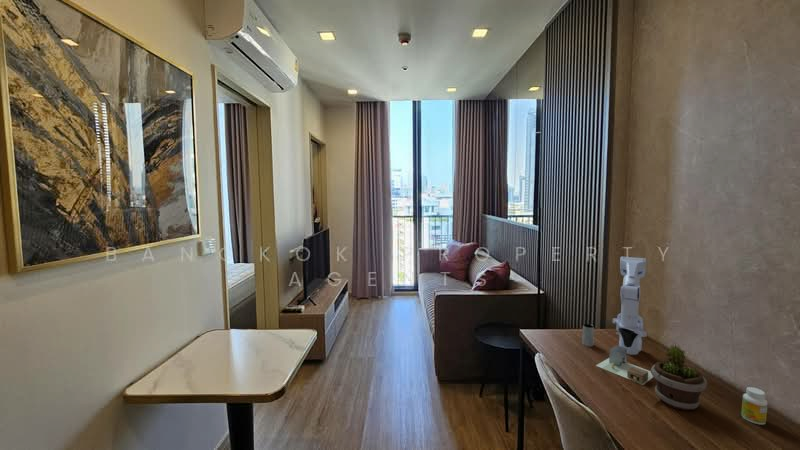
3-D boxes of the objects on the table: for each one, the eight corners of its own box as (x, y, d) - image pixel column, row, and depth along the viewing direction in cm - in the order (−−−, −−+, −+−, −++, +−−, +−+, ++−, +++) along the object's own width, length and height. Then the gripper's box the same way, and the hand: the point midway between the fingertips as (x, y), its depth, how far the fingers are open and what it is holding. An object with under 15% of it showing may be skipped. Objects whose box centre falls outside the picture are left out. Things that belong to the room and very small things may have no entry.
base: (610, 359, 144) (611, 352, 144) (657, 376, 130) (657, 369, 129) (595, 368, 137) (595, 361, 136) (642, 388, 123) (643, 379, 122)
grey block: (615, 358, 142) (616, 345, 142) (626, 362, 139) (626, 348, 138) (609, 362, 139) (609, 349, 138) (619, 366, 135) (620, 352, 135)
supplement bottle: (736, 414, 107) (738, 386, 106) (751, 413, 108) (753, 385, 107) (755, 425, 102) (757, 396, 101) (771, 424, 102) (773, 395, 102)
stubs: (636, 376, 128) (636, 373, 128) (640, 378, 127) (641, 374, 126) (632, 380, 126) (632, 376, 126) (636, 381, 125) (636, 377, 124)
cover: (633, 373, 130) (633, 366, 130) (647, 379, 126) (648, 371, 126) (627, 377, 127) (627, 370, 127) (642, 383, 123) (642, 375, 123)
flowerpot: (711, 422, 104) (716, 362, 102) (651, 406, 112) (654, 350, 110) (700, 397, 116) (704, 343, 114) (646, 385, 124) (649, 334, 123)
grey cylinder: (589, 349, 153) (590, 328, 152) (580, 345, 157) (580, 325, 156) (595, 347, 155) (596, 326, 154) (586, 343, 159) (586, 323, 158)
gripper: (606, 309, 140) (605, 339, 142) (636, 322, 126) (634, 355, 127) (621, 307, 141) (620, 338, 143) (652, 320, 127) (650, 354, 128)
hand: (627, 346), depth 135 cm, fingers closed
